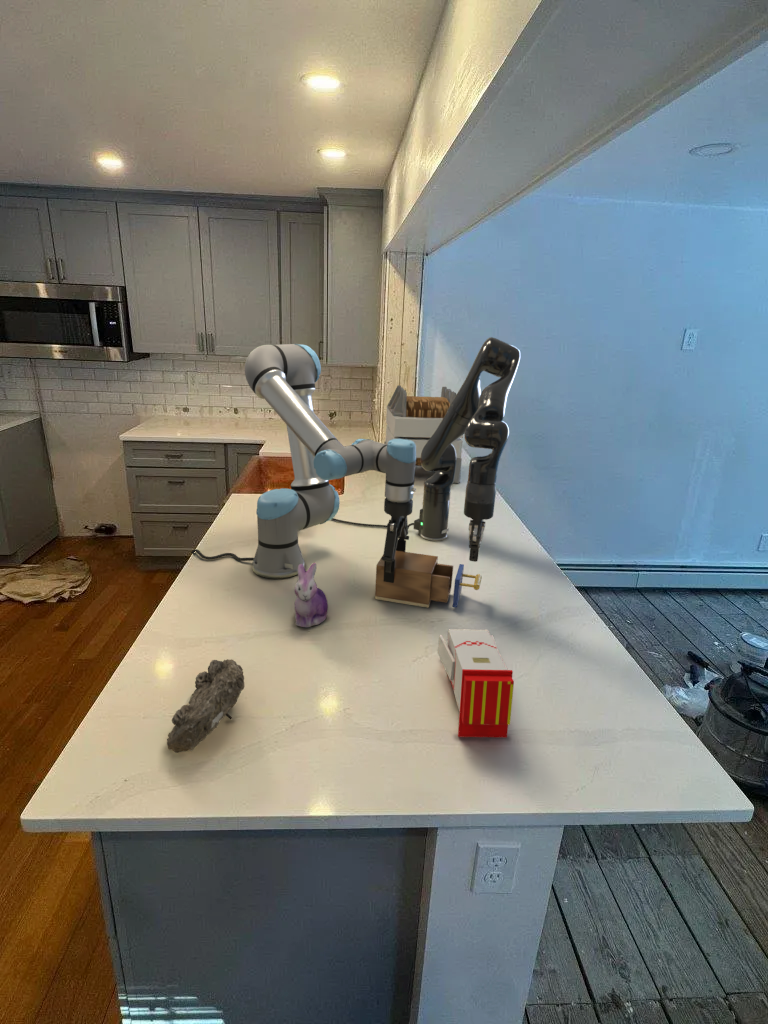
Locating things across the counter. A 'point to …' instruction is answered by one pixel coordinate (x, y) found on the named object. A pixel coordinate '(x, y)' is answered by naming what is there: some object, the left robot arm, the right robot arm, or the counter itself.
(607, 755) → the counter surface
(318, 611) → the figurine
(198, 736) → the fossil
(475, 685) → the toy
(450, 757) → the counter surface
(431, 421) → the transformer
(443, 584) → the drawer
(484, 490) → the right robot arm
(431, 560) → the cabinet
